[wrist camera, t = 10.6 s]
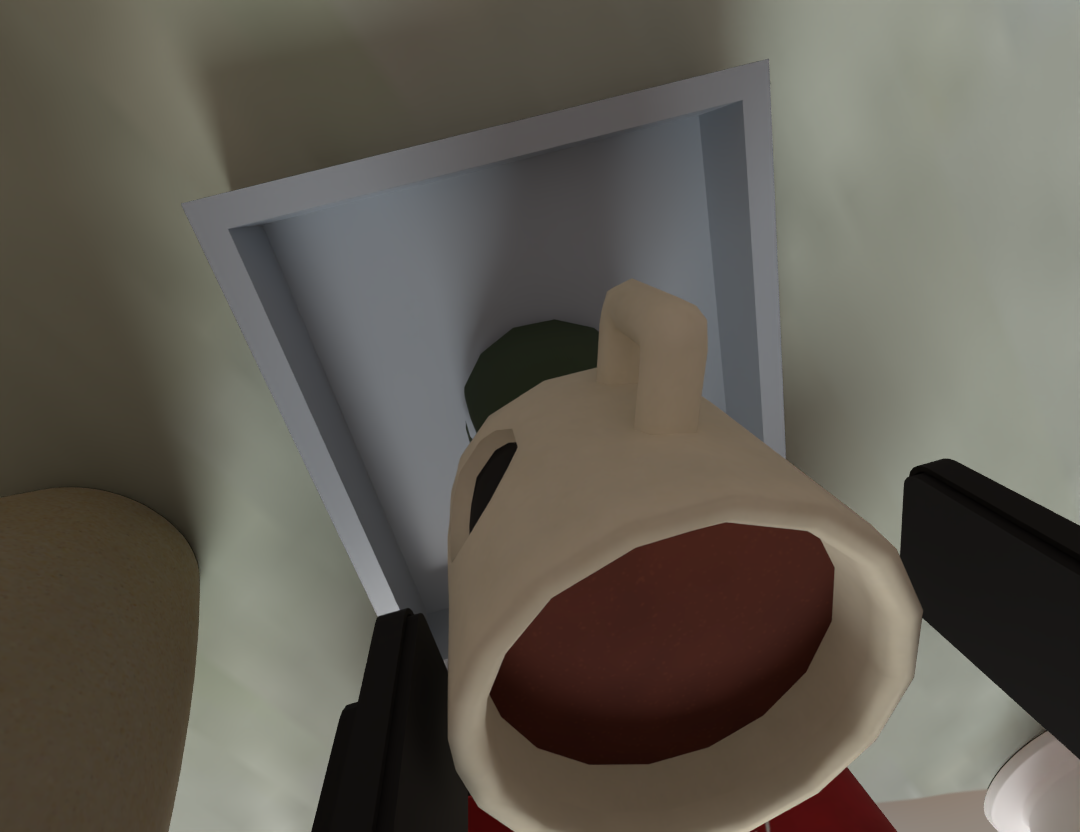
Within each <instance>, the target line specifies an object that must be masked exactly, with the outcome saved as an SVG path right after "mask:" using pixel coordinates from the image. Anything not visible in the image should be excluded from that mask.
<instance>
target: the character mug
mask: <svg viewBox="0 0 1080 832" xmlns="http://www.w3.org/2000/svg"><path fill="white" fill-rule="evenodd" d="M707 352H708V334H707V319H706V318H705V316H704V315H703V314H702V313H701V311H700V310H699V309H698V307H697V306H696V305H694V304H692V303H690V302H687V301H685V300H683V299H681V298H679V297H676V296H674V295H671V294H669V293H667V292H664V291H662V290H659V289H657V288H654V287H652V286H650V285H647V284H645V283H642V282H640V281H637V280H635V279H629V280H627V281H625V282H623V283H621V284H619V285H617V286H615V287H613V288H612V289H610V290H608V291H607V293H606V297H605V300H604V304H603V307H602V311H601V317H600V324H599V332H598V331H597V330H596V329H595V328H593V327H588V326H583V325H579V324H574V323H569V322H565V321H560V320H555V319H554V320H549V321H544V322H539V323H534V324H529V325H524V326H519V327H514V328H512V329H511V330H510V331H508V332H507V333H506V334H505V335H503V336H502V337H501V338H500V339H498V340H497V341H496V342H495V343H493V344H492V345H491V346H490V347H488V348H487V349H486V350H485V351H484V352H482V353H481V354H480V356H479V358H478V360H477V362H476V364H475V366H474V368H473V370H472V372H471V374H470V376H469V378H468V380H467V382H466V384H465V386H464V396H465V400H466V404H467V408H468V411H469V415H470V418H471V421H472V424H473V426H474V429H475V431H476V433H477V434H476V435H475V437H474V438H473V439H472V438H471V436H470V434H469V430H468V427H467V424H466V431H467V435H468V438H469V441H470V444H469V445H468V447H467V448H466V449H465V451H464V452H463V454H462V456H461V458H460V461H459V464H458V469H457V473H456V476H455V480H454V483H453V487H452V490H451V501H450V521H449V529H448V592H449V633H448V742H449V746H450V749H451V753H452V757H453V761H454V765H455V769H456V772H457V773H458V775H459V776H460V778H461V780H462V781H463V783H464V785H465V786H466V788H467V789H468V791H469V793H470V794H471V796H472V797H473V799H474V801H475V802H476V804H477V806H478V807H479V808H481V809H482V810H483V811H485V812H486V813H488V814H489V815H491V816H492V817H494V818H495V819H497V820H498V821H500V822H501V823H503V824H504V825H505V826H507V827H508V828H510V829H511V830H513V831H514V832H750V831H752V830H753V829H755V828H757V827H759V826H760V825H762V824H764V823H766V822H768V821H769V820H771V819H773V818H775V817H777V816H778V815H780V814H782V813H784V812H785V811H787V810H789V809H791V808H793V807H794V806H796V805H798V804H800V803H802V802H803V801H805V800H807V799H809V798H810V797H812V796H814V795H816V794H818V793H819V792H820V791H821V790H822V789H823V788H824V787H825V786H826V785H828V784H829V783H830V782H831V781H832V780H833V779H834V778H835V777H836V776H837V775H838V774H840V773H841V772H842V771H843V770H844V769H845V768H846V767H847V766H848V765H849V764H851V763H852V762H853V761H854V760H855V759H856V758H857V757H858V756H859V755H860V754H861V753H863V752H864V751H865V750H866V749H867V748H868V747H869V746H870V745H871V744H872V743H874V742H875V741H876V739H877V738H878V736H879V734H880V733H881V731H882V729H883V728H884V726H885V724H886V723H887V721H888V719H889V718H890V716H891V715H892V713H893V711H894V710H895V708H896V706H897V705H898V703H899V701H900V700H901V698H902V696H903V695H904V693H905V691H906V690H907V688H908V686H909V685H910V683H911V682H912V680H913V678H914V674H915V666H916V659H917V652H918V644H919V637H920V630H921V622H922V615H923V609H922V607H921V604H920V602H919V600H918V597H917V595H916V593H915V590H914V588H913V586H912V584H911V581H910V579H909V577H908V574H907V572H906V570H905V567H904V565H903V563H902V561H901V558H900V556H899V554H898V551H897V549H896V548H895V547H894V546H893V545H892V544H891V543H890V542H889V541H888V540H887V539H885V538H884V537H883V536H882V535H881V534H880V533H879V532H878V531H877V530H876V529H875V528H874V527H873V526H872V525H871V524H870V523H868V522H867V521H866V520H864V519H863V518H862V517H860V516H859V515H858V514H857V513H855V512H854V511H853V510H851V509H850V508H849V507H847V506H846V505H845V504H843V503H842V502H841V501H840V500H838V499H837V498H836V497H834V496H833V495H832V494H830V493H829V492H828V491H826V490H825V489H824V488H823V487H821V486H820V485H819V484H817V483H816V482H815V481H813V480H812V479H811V478H809V477H808V476H807V475H806V474H804V473H803V472H802V471H800V470H799V469H798V468H796V467H795V466H794V465H792V464H791V463H790V462H789V461H787V460H786V459H785V458H783V457H782V456H781V455H779V454H778V453H777V452H775V451H774V450H773V449H772V448H770V447H769V446H768V445H766V444H765V443H764V442H762V441H761V440H760V439H758V438H757V437H756V436H755V435H753V434H752V433H751V432H749V431H748V430H747V429H745V428H744V427H743V426H742V425H740V424H739V423H738V422H736V421H735V420H734V419H732V418H731V417H730V416H728V415H727V414H726V413H725V412H723V411H722V410H721V409H719V408H718V407H717V406H715V405H714V404H713V403H711V402H710V401H708V400H707V399H705V398H704V397H703V396H702V389H703V382H704V374H705V367H706V360H707Z"/></svg>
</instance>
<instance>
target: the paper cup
mask: <svg viewBox="0 0 1080 832" xmlns="http://www.w3.org/2000/svg"><path fill="white" fill-rule="evenodd" d="M750 832H897V831H896V829H895V828H894V827H893V826H892V824H891V823H890V822H889V821H888V819H887V818H886V817H885V815H884V814H883V813H882V811H881V810H880V809H879V808H878V806H877V805H876V804H875V802H874V801H873V800H872V799H871V797H870V796H869V795H868V793H867V792H866V791H865V790H864V788H863V787H862V786H861V784H860V783H859V782H858V781H857V779H856V778H855V777H854V775H853V774H852V773H851V772H850V770H849V769H848V768H847V767H846V768H845V769H844V770H843V771H842V772H841V773H840V774H838V775H837V776H836V777H835V778H834V779H833V780H832V781H831V782H830V783H829V784H828V785H826V786H825V787H824V788H823V789H822V790H821V791H820V792H819V793H818V794H816V795H814V796H812V797H810V798H809V799H807V800H805V801H803V802H802V803H800V804H798V805H796V806H794V807H793V808H791V809H789V810H787V811H785V812H784V813H782V814H780V815H778V816H777V817H775V818H773V819H771V820H769V821H768V822H766V823H764V824H762V825H760V826H759V827H757V828H755V829H753V830H752V831H750Z"/></svg>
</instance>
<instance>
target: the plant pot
mask: <svg viewBox="0 0 1080 832" xmlns="http://www.w3.org/2000/svg"><path fill="white" fill-rule="evenodd" d="M199 599H200V578H199V569H198V563H197V561H196V558H195V556H194V553H193V551H192V549H191V547H190V545H189V544H188V542H187V541H186V539H185V538H184V537H183V536H182V535H181V533H180V532H179V531H178V530H177V529H176V528H175V527H174V526H173V525H172V524H171V523H170V522H168V521H167V520H166V519H165V518H163V517H162V516H161V515H159V514H158V513H156V512H155V511H153V510H151V509H150V508H148V507H147V506H145V505H143V504H141V503H138V502H136V501H134V500H132V499H129V498H127V497H124V496H121V495H118V494H115V493H111V492H107V491H102V490H97V489H90V488H80V487H58V488H50V489H43V490H38V491H32V492H27V493H22V494H16V495H11V496H6V497H2V498H0V832H168V831H169V826H170V821H171V817H172V812H173V807H174V802H175V796H176V791H177V786H178V781H179V776H180V770H181V764H182V758H183V752H184V746H185V740H186V734H187V728H188V721H189V715H190V707H191V700H192V692H193V684H194V676H195V665H196V653H197V642H198V627H199Z"/></svg>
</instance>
